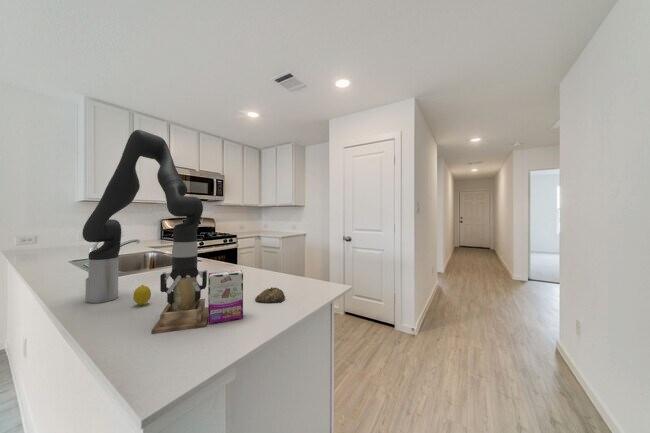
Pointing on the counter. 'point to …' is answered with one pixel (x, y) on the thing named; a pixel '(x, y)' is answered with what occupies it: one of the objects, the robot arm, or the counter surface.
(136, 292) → the lemon
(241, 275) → the candy bar box
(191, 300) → the skincare box
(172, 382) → the counter surface
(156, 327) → the walnut stand
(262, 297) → the bread roll
